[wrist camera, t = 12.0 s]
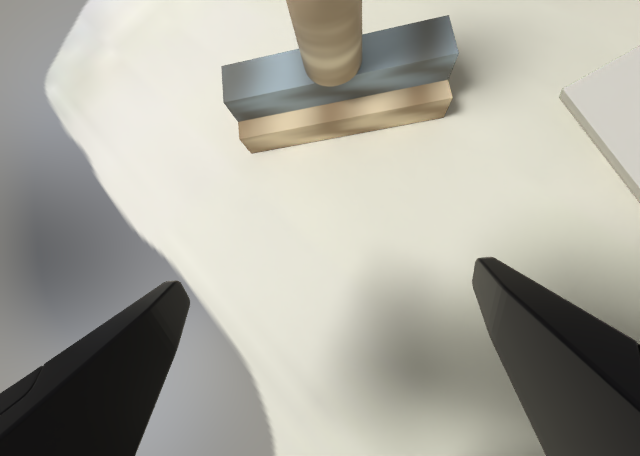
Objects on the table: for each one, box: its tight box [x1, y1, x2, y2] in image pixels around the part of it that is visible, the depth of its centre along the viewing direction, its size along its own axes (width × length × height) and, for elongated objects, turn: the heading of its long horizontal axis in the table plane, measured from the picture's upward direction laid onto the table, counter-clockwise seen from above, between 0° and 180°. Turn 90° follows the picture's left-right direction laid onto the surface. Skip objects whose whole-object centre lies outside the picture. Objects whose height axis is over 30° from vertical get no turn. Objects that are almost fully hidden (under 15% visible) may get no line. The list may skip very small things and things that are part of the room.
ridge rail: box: [221, 15, 459, 153], centre depth 23 cm, size 16×6×5 cm, turn 97°
